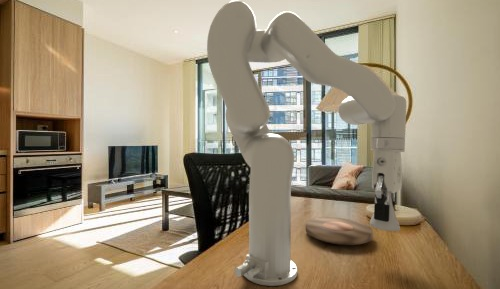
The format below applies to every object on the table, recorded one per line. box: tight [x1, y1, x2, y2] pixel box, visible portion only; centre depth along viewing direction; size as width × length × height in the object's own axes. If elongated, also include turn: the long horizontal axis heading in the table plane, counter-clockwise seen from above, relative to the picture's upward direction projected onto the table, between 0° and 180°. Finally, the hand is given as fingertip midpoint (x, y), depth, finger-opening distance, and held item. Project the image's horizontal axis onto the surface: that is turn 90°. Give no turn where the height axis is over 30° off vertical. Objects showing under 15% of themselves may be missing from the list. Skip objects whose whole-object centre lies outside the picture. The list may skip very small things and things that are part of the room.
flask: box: [368, 189, 401, 232], centre depth 63 cm, size 7×7×10 cm
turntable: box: [304, 216, 374, 246], centre depth 80 cm, size 20×20×2 cm
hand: (384, 217), depth 63 cm, fingers closed on flask, 5 cm apart
